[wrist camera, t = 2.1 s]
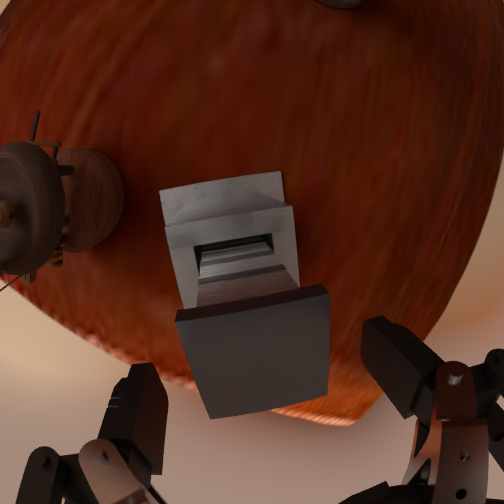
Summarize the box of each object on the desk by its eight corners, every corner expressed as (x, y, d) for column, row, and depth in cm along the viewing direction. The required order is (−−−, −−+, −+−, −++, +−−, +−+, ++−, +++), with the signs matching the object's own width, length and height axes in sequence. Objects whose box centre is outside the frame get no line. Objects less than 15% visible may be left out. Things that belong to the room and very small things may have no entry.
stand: (161, 190, 26) (122, 204, 14) (278, 171, 27) (326, 171, 15) (184, 298, 29) (172, 370, 18) (290, 279, 30) (333, 340, 19)
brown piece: (131, 260, 27) (14, 382, 8) (55, 255, 26) (-63, 334, 7) (133, 116, 23) (-14, 54, 4) (53, 128, 22) (-84, 119, 3)
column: (200, 219, 26) (174, 322, 8) (250, 211, 26) (329, 293, 8) (209, 267, 27) (210, 419, 10) (257, 259, 28) (327, 394, 10)
